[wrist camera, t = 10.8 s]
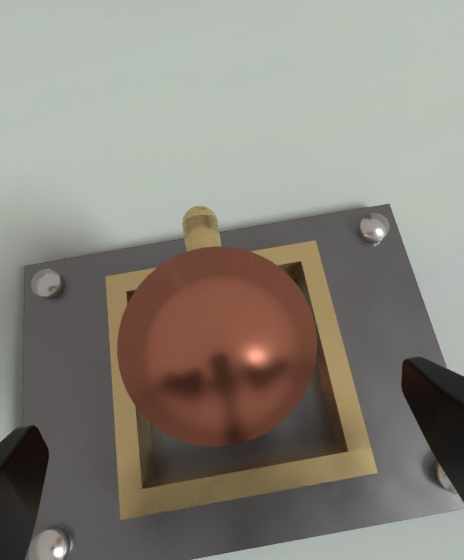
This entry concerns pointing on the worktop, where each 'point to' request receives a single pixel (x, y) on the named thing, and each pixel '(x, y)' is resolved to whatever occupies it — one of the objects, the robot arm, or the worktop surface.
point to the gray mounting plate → (248, 455)
